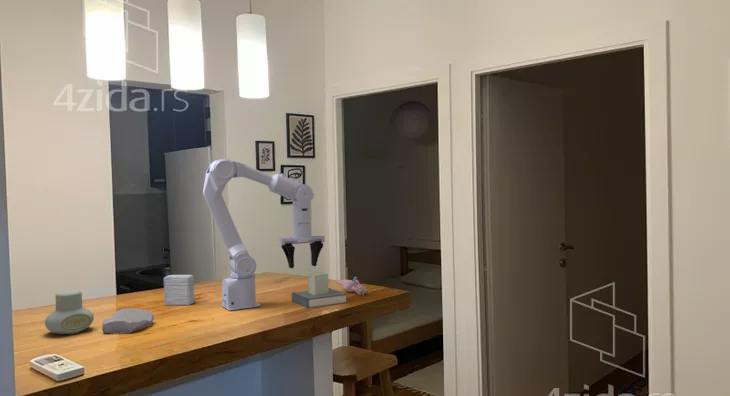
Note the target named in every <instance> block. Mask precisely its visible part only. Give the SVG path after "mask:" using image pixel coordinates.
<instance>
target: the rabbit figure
mask: <svg viewBox="0 0 730 396" xmlns="http://www.w3.org/2000/svg"><path fill="white" fill-rule="evenodd" d="M336 283H339V284H340V285H341V286H342V287H343V289H344V290H345V291H346V292H348V293H350V292H351V293H356V294H357V295H358V296H365V295H367V294H368V295H371V289H368V288H366V287H365V286H364V285H361V283H360V282H359V280H358V277H357V276H354V277H353V279H352V280H351V279H342V280H341V279H340V280H336ZM364 294H365V295H364Z"/></svg>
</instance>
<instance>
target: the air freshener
mask: <svg viewBox="0 0 730 396" xmlns="http://www.w3.org/2000/svg"><path fill="white" fill-rule="evenodd" d="M94 318H95V317H94V314H93V312H92V311H91V310H90V309H88V308H86V307H84V306H83V294H82V291H81V290H77V289H76V290H65V291H59V292H57V293H56V294H55V310H53V311H52V312H50V313H49V314H48V315H47V316H46V318H45V319H44V326H45V328H46V330H48V331H49V332H51V333H53V334H57V335H64V334H70V335H74V334H73V333H76V334H78V333H77V332H79V333H81V332H83V331H84V330H87V328H89V327H90V326H91V325H92V324H93V322H94Z"/></svg>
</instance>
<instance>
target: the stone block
mask: <svg viewBox="0 0 730 396" xmlns="http://www.w3.org/2000/svg"><path fill="white" fill-rule="evenodd" d="M154 320H155V319H154V313H153V312H151V311H150V310H145V309H142V308H141V309H139V308H131V307H129V308H122V309H119V310H117V311H116V312H115V313H113V314H112V315H111V317H110V318H104V319H103V320H102V326H101V327H102V328H101V330H102V332H103V333H104V334H105V333H115V334H132V333H131V332H133V333H134V331H135V332H137V331H136V330H138V331H139V329H140V330H142V329H141V328H143V329H145V328H148V327H150V326H152V325H151V324H153V322H154ZM149 325H150V326H149ZM147 326H148V327H147ZM144 327H145V328H144ZM121 332H122V333H121Z"/></svg>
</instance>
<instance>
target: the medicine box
mask: <svg viewBox="0 0 730 396" xmlns="http://www.w3.org/2000/svg"><path fill="white" fill-rule="evenodd" d="M194 279H195V278H194V274H170V275H166V276H165V277H163V296H164V301H163V302H164V305H165V306H190V305H192V304H193V303H195V280H194Z"/></svg>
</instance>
